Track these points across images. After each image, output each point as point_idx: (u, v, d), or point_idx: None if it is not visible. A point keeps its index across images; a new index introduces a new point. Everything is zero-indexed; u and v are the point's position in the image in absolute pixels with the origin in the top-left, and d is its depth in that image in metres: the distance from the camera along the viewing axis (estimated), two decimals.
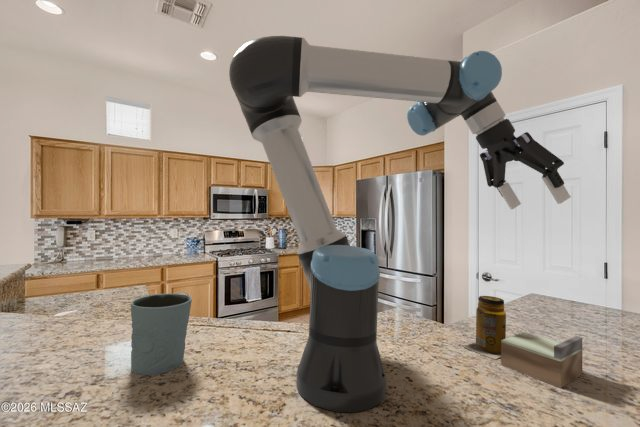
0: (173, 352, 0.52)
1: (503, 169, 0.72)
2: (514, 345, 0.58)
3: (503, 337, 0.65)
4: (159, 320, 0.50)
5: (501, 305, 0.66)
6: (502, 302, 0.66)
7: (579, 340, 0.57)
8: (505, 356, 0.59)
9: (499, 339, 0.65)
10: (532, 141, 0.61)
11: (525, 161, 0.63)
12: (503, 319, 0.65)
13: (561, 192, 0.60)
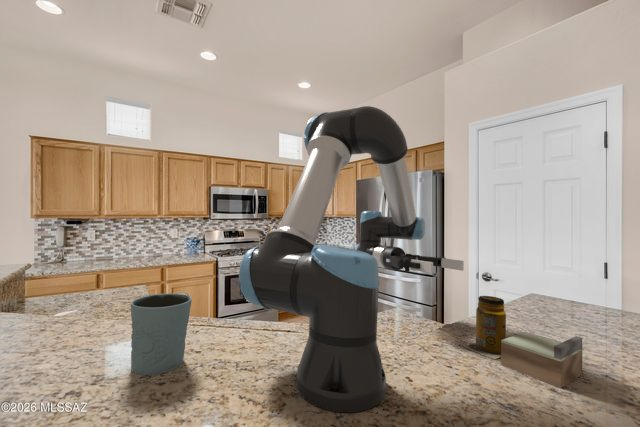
0: (173, 352, 0.52)
1: None
2: (514, 345, 0.58)
3: (503, 337, 0.65)
4: (159, 320, 0.50)
5: (501, 305, 0.66)
6: (502, 302, 0.66)
7: (579, 340, 0.57)
8: (505, 356, 0.59)
9: (499, 338, 0.65)
10: None
11: (425, 257, 0.89)
12: (503, 319, 0.65)
13: None
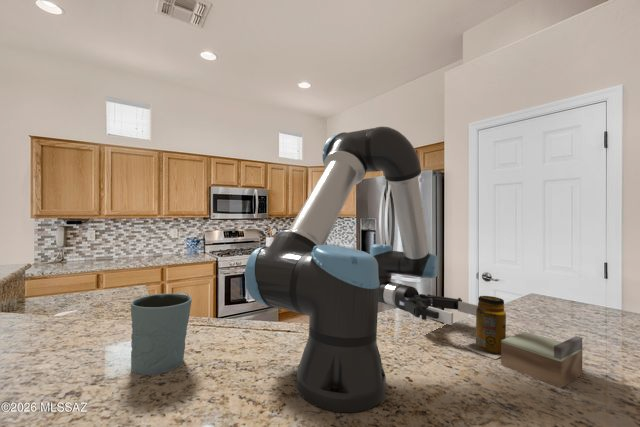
0: (173, 352, 0.52)
1: None
2: (514, 345, 0.58)
3: (503, 337, 0.65)
4: (159, 320, 0.50)
5: (501, 305, 0.66)
6: (502, 302, 0.66)
7: (579, 340, 0.57)
8: (505, 356, 0.59)
9: (499, 338, 0.65)
10: None
11: (441, 298, 0.84)
12: (503, 319, 0.65)
13: None
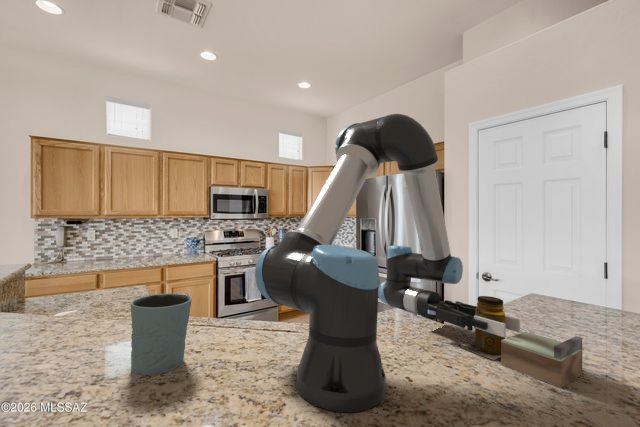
0: (173, 352, 0.52)
1: None
2: (514, 345, 0.58)
3: (502, 338, 0.65)
4: (159, 320, 0.50)
5: (500, 305, 0.65)
6: (501, 302, 0.66)
7: (579, 340, 0.57)
8: (505, 356, 0.59)
9: (498, 339, 0.64)
10: None
11: (468, 307, 0.75)
12: (502, 319, 0.65)
13: None
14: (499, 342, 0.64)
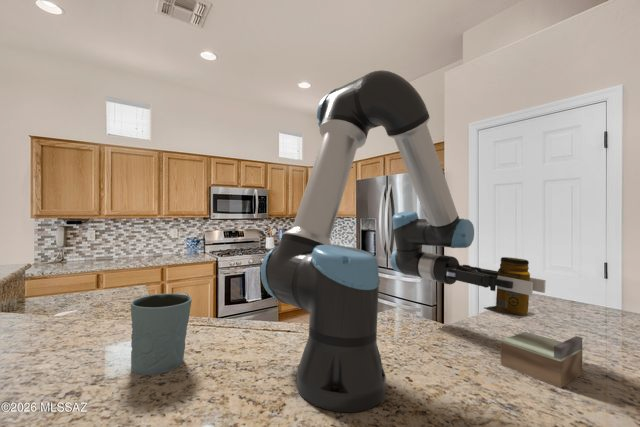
0: (173, 352, 0.52)
1: None
2: (514, 345, 0.58)
3: (526, 298, 0.62)
4: (159, 320, 0.50)
5: (526, 265, 0.63)
6: (527, 262, 0.63)
7: (579, 340, 0.57)
8: (505, 356, 0.59)
9: (523, 299, 0.62)
10: None
11: (488, 271, 0.73)
12: (527, 279, 0.62)
13: None
14: (523, 302, 0.62)
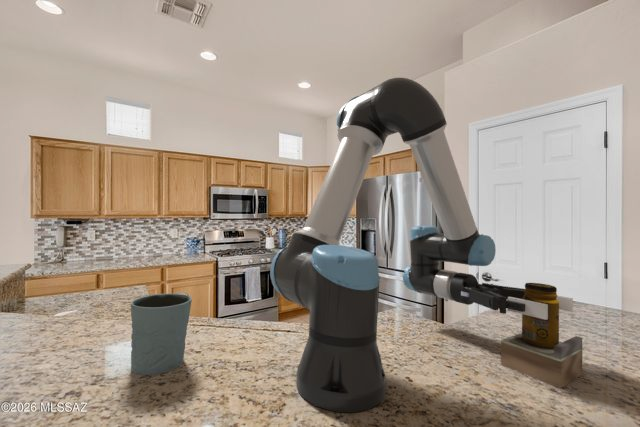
0: (173, 352, 0.52)
1: None
2: (514, 345, 0.58)
3: (557, 329, 0.57)
4: (159, 320, 0.50)
5: (554, 292, 0.57)
6: (555, 289, 0.57)
7: (579, 340, 0.57)
8: (505, 356, 0.59)
9: (553, 331, 0.56)
10: None
11: (510, 288, 0.69)
12: (556, 308, 0.57)
13: None
14: (554, 334, 0.56)
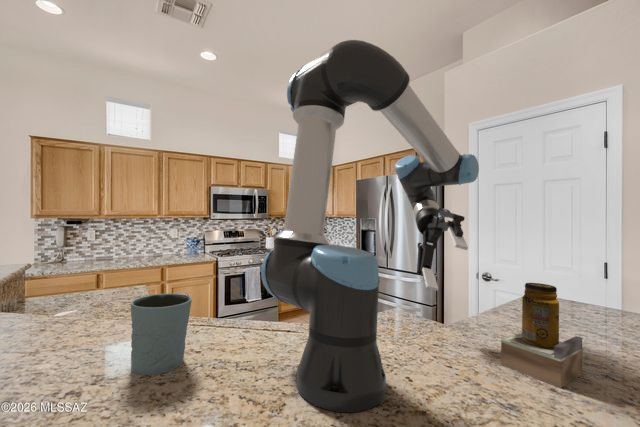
0: (173, 352, 0.52)
1: (431, 254, 0.77)
2: (514, 345, 0.58)
3: (557, 329, 0.57)
4: (159, 320, 0.50)
5: (554, 292, 0.57)
6: (555, 289, 0.57)
7: (579, 340, 0.57)
8: (505, 356, 0.59)
9: (553, 331, 0.56)
10: (449, 212, 0.74)
11: (441, 223, 0.73)
12: (556, 308, 0.57)
13: (460, 240, 0.64)
14: (554, 334, 0.56)
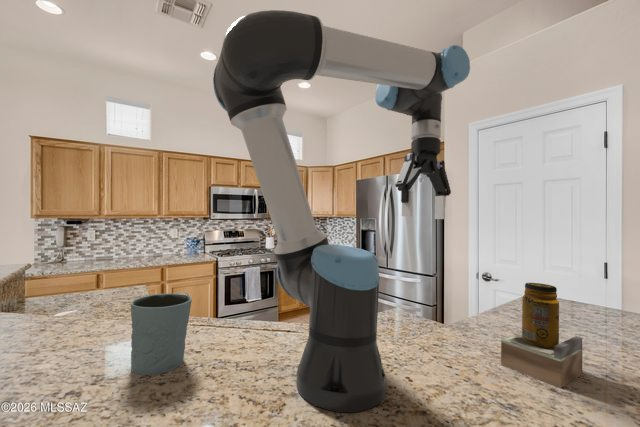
0: (173, 352, 0.52)
1: (436, 181, 0.80)
2: (514, 345, 0.58)
3: (557, 329, 0.57)
4: (159, 320, 0.50)
5: (554, 292, 0.57)
6: (555, 289, 0.57)
7: (579, 340, 0.57)
8: (505, 356, 0.59)
9: (553, 331, 0.56)
10: (409, 161, 0.74)
11: None
12: (556, 308, 0.57)
13: (406, 208, 0.74)
14: (554, 334, 0.56)
